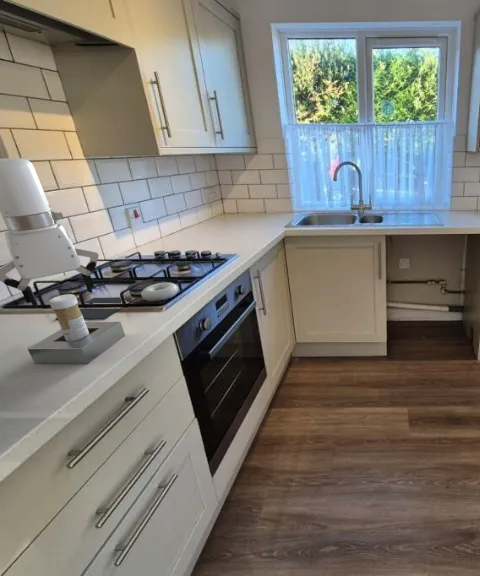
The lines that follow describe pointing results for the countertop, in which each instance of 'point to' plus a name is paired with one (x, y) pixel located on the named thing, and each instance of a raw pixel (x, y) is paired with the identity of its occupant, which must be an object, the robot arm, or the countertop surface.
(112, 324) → the stand
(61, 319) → the sprinkles bottle
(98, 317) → the mat
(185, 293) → the countertop surface
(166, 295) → the donut
